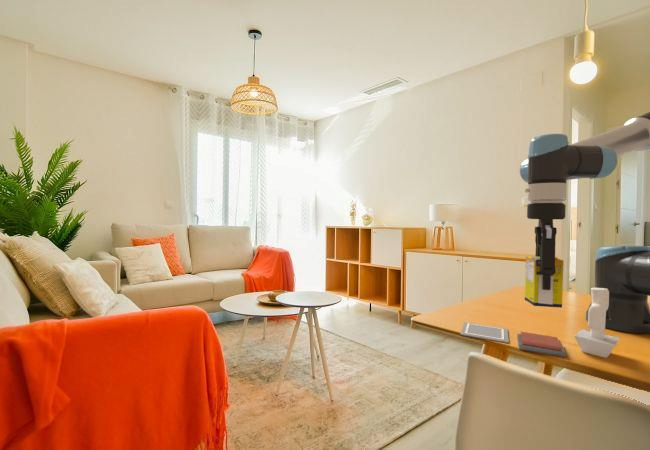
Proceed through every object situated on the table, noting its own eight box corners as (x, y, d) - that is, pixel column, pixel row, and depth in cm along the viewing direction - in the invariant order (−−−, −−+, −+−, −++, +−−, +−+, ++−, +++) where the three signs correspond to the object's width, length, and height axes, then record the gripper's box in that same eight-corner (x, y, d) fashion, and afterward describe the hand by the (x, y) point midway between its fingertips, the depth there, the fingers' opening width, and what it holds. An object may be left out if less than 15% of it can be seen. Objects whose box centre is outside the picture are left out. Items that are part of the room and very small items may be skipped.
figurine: (572, 352, 77) (575, 287, 77) (582, 342, 84) (585, 282, 83) (613, 363, 72) (616, 294, 71) (620, 352, 78) (623, 288, 78)
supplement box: (562, 308, 76) (564, 260, 76) (533, 306, 78) (534, 259, 77) (551, 301, 82) (552, 256, 82) (524, 299, 83) (525, 255, 83)
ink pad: (559, 345, 82) (560, 337, 82) (565, 357, 75) (566, 348, 74) (517, 338, 86) (517, 330, 86) (518, 349, 79) (519, 340, 79)
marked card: (507, 329, 92) (507, 328, 92) (508, 343, 82) (508, 341, 82) (464, 323, 97) (464, 321, 97) (460, 335, 87) (460, 333, 87)
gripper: (524, 203, 89) (522, 289, 90) (531, 201, 72) (528, 308, 73) (558, 203, 86) (555, 292, 87) (574, 200, 68) (570, 312, 69)
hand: (543, 299), depth 80 cm, fingers closed on supplement box, 7 cm apart
